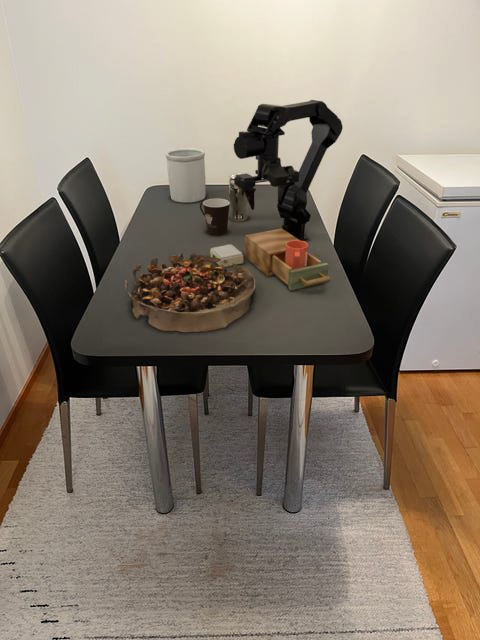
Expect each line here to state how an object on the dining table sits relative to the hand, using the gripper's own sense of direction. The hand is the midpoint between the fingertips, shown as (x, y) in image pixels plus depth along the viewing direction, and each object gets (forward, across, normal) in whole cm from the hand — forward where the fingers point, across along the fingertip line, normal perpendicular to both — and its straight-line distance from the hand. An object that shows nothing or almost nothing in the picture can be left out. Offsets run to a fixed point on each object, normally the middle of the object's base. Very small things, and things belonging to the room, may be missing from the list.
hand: (266, 207), depth 149 cm
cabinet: (+13, -2, -10) cm, 17 cm away
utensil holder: (+13, -4, +57) cm, 59 cm away
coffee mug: (+13, -8, +20) cm, 25 cm away
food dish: (+13, -32, -19) cm, 39 cm away
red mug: (+11, -3, -23) cm, 26 cm away
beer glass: (+13, +4, +27) cm, 30 cm away
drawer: (+12, -3, -24) cm, 27 cm away
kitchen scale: (+13, -14, -3) cm, 20 cm away
